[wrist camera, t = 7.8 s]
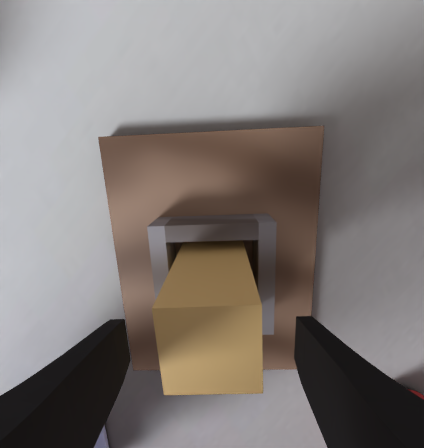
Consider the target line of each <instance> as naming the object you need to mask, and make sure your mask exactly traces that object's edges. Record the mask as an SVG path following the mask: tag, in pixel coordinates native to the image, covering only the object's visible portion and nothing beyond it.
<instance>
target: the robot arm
mask: <svg viewBox="0 0 424 448" xmlns="http://www.w3.org/2000/svg"><path fill="white" fill-rule="evenodd" d="M294 359H295V363H296V367H297V370H298V374H299V377H300V380H301V384H302V386H303V389H304V391H305V394H306V396H307V399H308V401H309V404H310V406H311V409H312V411H313V413H314V416H315V418H316V421H317V423H318V426H319V428H320V430H321V433H322V435H323V438H324V440H325V443H326V445H327V447H328V448H424V400H423V399H422V398H420V397H419V396H417V395H416V394H414V393H413V392H411V391H410V390H408V389H406V388H405V387H403V386H402V385H400V384H399V383H397V382H396V381H394V380H393V379H391V378H390V377H388V376H387V375H386V374H384V373H383V372H381V371H380V370H379V369H377V368H376V367H375V366H373V365H372V364H370V363H369V362H368V361H366V360H365V359H364V358H362V357H361V356H360V355H358V354H357V353H356V352H355V351H353V350H352V349H351V348H350V347H348V346H347V345H346V344H345V343H343V342H342V341H341V340H340V339H338V338H337V337H336V336H335V335H334V334H332V333H331V332H330V331H329V330H328V329H326V328H325V327H324V326H323V325H322V324H320V323H319V322H318V321H317V320H316V319H314V318H313V317H312V316H296V329H295V349H294ZM129 363H130V353H129V347H128V340H127V333H126V327H125V320H124V319H114V320H109V321H107V322H106V323H105V324H103V325H102V326H100V327H99V328H98V329H96V330H95V331H94V332H92V333H91V334H90V335H88V336H87V337H86V338H84V339H83V340H82V341H80V342H79V343H78V344H76V345H75V346H74V347H72V348H71V349H70V350H68V351H67V352H66V353H64V354H63V355H62V356H60V357H59V358H57V359H56V360H54V361H53V362H52V363H50V364H49V365H47V366H46V367H44V368H43V369H42V370H40V371H39V372H37V373H36V374H34V375H33V376H31V377H30V378H28V379H27V380H25V381H24V382H22V383H21V384H19V385H17V386H16V387H14V388H13V389H11V390H9V391H8V392H6V393H4V394H3V395H1V396H0V448H109V445H108V440H107V435H106V430H105V425H104V424H105V422H106V420H107V418H108V416H109V414H110V411H111V409H112V407H113V405H114V403H115V400H116V398H117V396H118V394H119V391H120V389H121V387H122V384H123V381H124V378H125V375H126V372H127V369H128V366H129Z"/></svg>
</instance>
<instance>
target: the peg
mask: <svg viewBox="0 0 424 448" xmlns="http://www.w3.org/2000/svg"><path fill="white" fill-rule="evenodd" d="M152 314H153V321H154V328H155V335H156V342H157V349H158V357H159V364H160V371H161V378H162V385H163V392H164V395H202V394H258V393H263V353H262V303H261V300H260V297H259V293H258V290H257V286H256V283H255V280H254V276H253V273H252V270H251V266H250V263H249V260H248V256H247V253H246V250H245V246H244V243H243V240H234V241H200V242H183V244H182V246H181V248H180V250H179V252H178V254H177V256H176V258H175V261H174V263H173V265H172V267H171V269H170V271H169V273H168V275H167V277H166V280H165V282H164V284H163V286H162V288H161V290H160V292H159V294H158V296H157V299H156V301H155V303H154V305H153V307H152Z"/></svg>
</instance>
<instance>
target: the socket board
mask: <svg viewBox="0 0 424 448" xmlns="http://www.w3.org/2000/svg"><path fill="white" fill-rule="evenodd" d="M323 136H324V126H309V127H289V128H269V129H249V130H229V131H209V132H189V133H169V134H149V135H129V136H109V137H98V139H99V146H100V152H101V159H102V166H103V172H104V179H105V185H106V192H107V199H108V205H109V212H110V219H111V225H112V232H113V238H114V245H115V252H116V258H117V265H118V272H119V278H120V285H121V291H122V298H123V305H124V311H125V318H126V325H127V331H128V338H129V344H130V351H131V358H132V364H133V370H160V364H159V357H158V349H157V342H156V335H155V328H154V321H153V314H152V307H153V305H154V303H155V301H156V299H157V296H158V294H159V292H160V290H161V288H162V286H163V284H164V282H165V280H166V277H167V275H168V273H169V271H170V269H171V267H172V265H173V263H174V261H175V258H176V256H177V254H178V252H179V250H180V248H181V246H182V244H183V242H200V241H234V240H243V243H244V246H245V250H246V253H247V256H248V260H249V263H250V266H251V270H252V273H253V276H254V280H255V283H256V286H257V290H258V293H259V297H260V300H261V303H262V353H263V369H297V367H296V363H295V359H294V349H295V329H296V316H311V311H312V296H313V282H314V267H315V253H316V238H317V223H318V209H319V194H320V180H321V165H322V150H323Z"/></svg>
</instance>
